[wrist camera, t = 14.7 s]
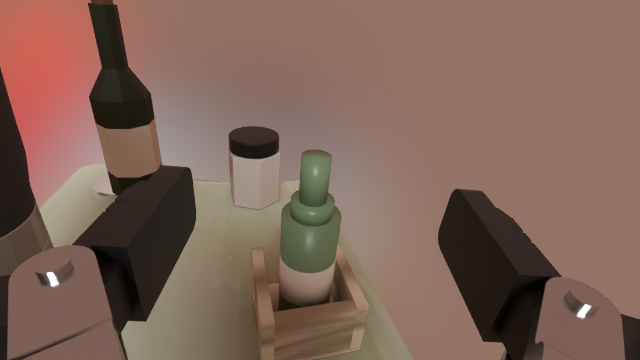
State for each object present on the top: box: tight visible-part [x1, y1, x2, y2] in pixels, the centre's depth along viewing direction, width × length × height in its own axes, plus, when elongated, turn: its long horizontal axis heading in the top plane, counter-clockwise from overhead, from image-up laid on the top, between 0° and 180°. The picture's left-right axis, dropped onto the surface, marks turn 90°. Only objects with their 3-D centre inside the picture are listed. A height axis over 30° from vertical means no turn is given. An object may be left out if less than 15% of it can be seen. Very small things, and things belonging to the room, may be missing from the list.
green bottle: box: [278, 150, 341, 311], centre depth 33 cm, size 6×6×20 cm
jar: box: [229, 126, 280, 210], centre depth 57 cm, size 9×8×12 cm
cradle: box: [251, 242, 369, 360], centre depth 37 cm, size 10×10×7 cm
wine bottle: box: [88, 0, 162, 196], centre depth 52 cm, size 8×8×30 cm
